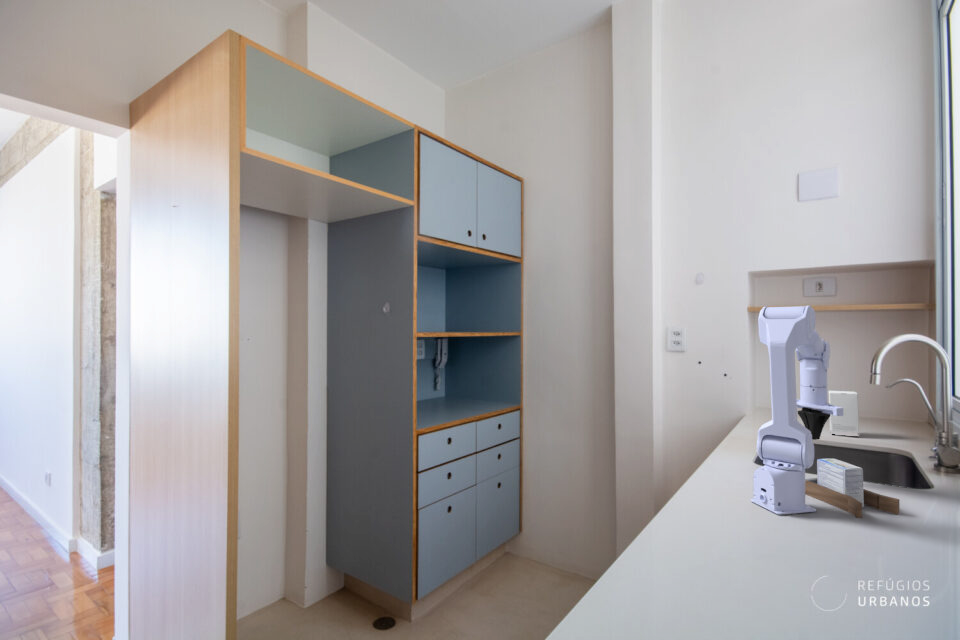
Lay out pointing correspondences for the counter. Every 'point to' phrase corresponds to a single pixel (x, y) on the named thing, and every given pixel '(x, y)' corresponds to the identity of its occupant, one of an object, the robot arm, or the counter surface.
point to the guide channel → (851, 499)
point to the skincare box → (844, 411)
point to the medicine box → (841, 478)
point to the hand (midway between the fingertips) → (814, 438)
